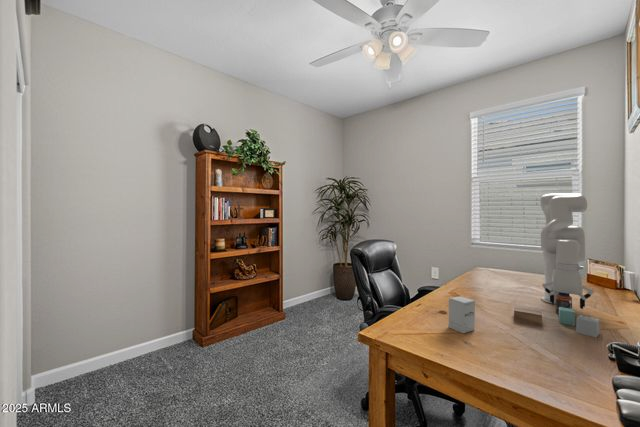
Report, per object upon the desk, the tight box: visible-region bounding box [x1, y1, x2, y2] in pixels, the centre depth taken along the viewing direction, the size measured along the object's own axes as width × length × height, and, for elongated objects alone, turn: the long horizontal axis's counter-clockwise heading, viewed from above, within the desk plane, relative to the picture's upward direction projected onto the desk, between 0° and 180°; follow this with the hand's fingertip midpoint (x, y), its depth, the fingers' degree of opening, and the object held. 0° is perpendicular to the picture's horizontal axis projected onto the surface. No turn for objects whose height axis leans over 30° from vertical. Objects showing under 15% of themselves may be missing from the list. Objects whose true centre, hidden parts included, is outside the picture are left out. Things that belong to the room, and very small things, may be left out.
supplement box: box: [448, 296, 476, 334], centre depth 118 cm, size 7×7×13 cm
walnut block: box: [513, 304, 543, 327], centre depth 129 cm, size 10×10×5 cm
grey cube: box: [575, 314, 601, 338], centre depth 115 cm, size 6×6×6 cm
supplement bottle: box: [555, 292, 573, 315], centre depth 136 cm, size 6×6×11 cm
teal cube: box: [558, 307, 576, 327], centre depth 126 cm, size 5×5×6 cm
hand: (566, 305), depth 125 cm, fingers open, 9 cm apart
